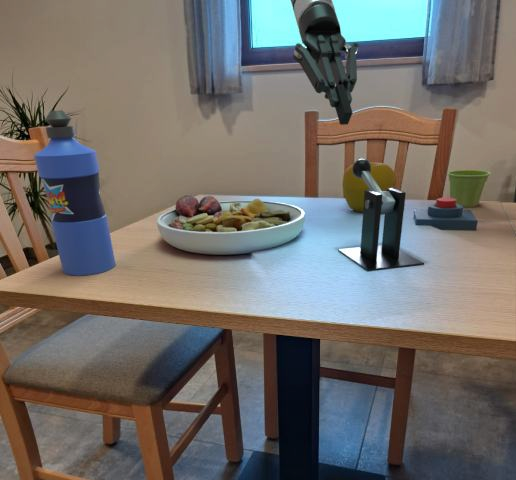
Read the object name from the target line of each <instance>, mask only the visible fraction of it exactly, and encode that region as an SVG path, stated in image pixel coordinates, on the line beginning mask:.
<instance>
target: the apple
mask: <svg viewBox="0 0 516 480" xmlns="http://www.w3.org/2000/svg"><path fill="white" fill-rule="evenodd" d="M369 163H370V165H371V171H370V174H371V176H372V177H373V179H374V180H375V182H376V183H377V185H378V186H379V188H380V189H381V191H382V192H383V191H387V189H389V188H393V189H396V188H395V187H396V185H397V175H396V172H395V171H394V169H393V167H391V166H390V165H389V164H387V163H384V162H374V161H373V162H372V161H371V162H370V161H369ZM353 165H354V163H352V164H350V165H349V166H348V167H347V168H346V170H345V171H344V173H343V175H342V185H341V186H342V193H343V196H344V198H345V201H346V203H347V205H348V207H349V208H350V210H352V211H354V212H358V213H363V207H364V193H365V190H370V189H369V188H368V186H367V185H366V183H365V181H364V180H363V178H357V177H356V176H354V174H353V171H352V167H353Z"/></svg>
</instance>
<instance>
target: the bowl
mask: <svg viewBox="0 0 516 480" xmlns="http://www.w3.org/2000/svg"><path fill="white" fill-rule="evenodd" d="M174 207H175V208H174V209H170V210H167V211H165V212H163V213H162V214H160V215H159V216H158V217H157V218H156V226H157V230H158V232H159V234H160V236H161V238H162V239H163V240H164V241H165V242H166V243H168V244H169V245H170V246H172V247H174V248H176V249H179V250H182V251H185V252H187V253H188V252H189V253H193V254H200V255H201V254H203V255H213V256H228V255H229V256H230V255H231V256H232V255H244V254H245V255H246V254H251V253H252V252H256V251H262V250H263V251H264V250H269V249H273V248H276V247H279V246H282V245H285V244H287V243H289V242H291V241H293V240H294V239H295V238H297V236H298V235H299V234H300V233H301V231H302V230H303V227H304V225H305V221H306V219H305V218H306V215H305V214H306V213H305V211H304V209H302V208H301V207H299V206H296V205H293V204H290V203H285V202H278V201H269V200H261V199H260V198H255V199H252V200H223V201H219V200H217V198H216V197H215V196H213V195H205V196H204V197H202V198H201V199H200V200H198V198H197V197H196V196H193V195H189V194H185V195H183V196H182V197H180V198H179V199H178V200H176V202H175V206H174Z"/></svg>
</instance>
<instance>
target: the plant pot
mask: <svg viewBox="0 0 516 480" xmlns="http://www.w3.org/2000/svg"><path fill="white" fill-rule="evenodd" d="M490 175H491V171H488V170H477V169H456V170H450V171H448V172H447V176H448V181H449V198H454V199H456V200H457V201H456V204H459V205H462V206H463V208H474V207H478V206H479V203H480V200H481V196H482V193H483V191H484V187H485V184H486V182H487V181H488V178H489V176H490Z"/></svg>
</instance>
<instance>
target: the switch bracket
mask: <svg viewBox="0 0 516 480" xmlns="http://www.w3.org/2000/svg"><path fill="white" fill-rule="evenodd" d="M387 191H389V192H390V194H391V195H392V197H393V198H394V200H395V204H394V207H393V210H392V213H391V214H384V217H383V218H384V219H383V227H382V229H383V230H382V238H381V239H382V240H381V244H379V237H380V226H381V216H382V215H381V205H382V194H380V193H377V192H374V191H371V190H365V193H364V207H363V212H362V220H361V234H360V235H361V237H360V246H358V247H349V248H347V247H346V248H339V249H337V251H338V252H339V253H340V254H342V255H343V256H344V257H346V258H347V259H349V260H350V261H351V262H353V263H354V264H356V265H357V266H358V267H360V268H361V269H363V270H364V271H366V272H374V271H375V272H376V271H383V270H385V271H386V270H392V269H393V270H394V269H401V268H410V267H417V266H418V267H419V266H425V262H423V261H421V260H419V259H417V258H416V257H414V256H412V255H410V254H408V253H406V252H405V251H402V250H401V249H400V248H401V239H402V230H403V221H404V212H405V204H406V194H407V193H406V191H402V190H399V189H397V188H394V189H393V188H389V189H387Z"/></svg>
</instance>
